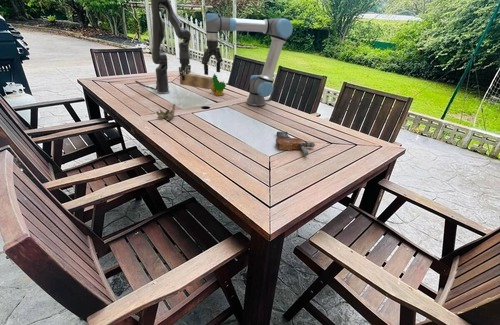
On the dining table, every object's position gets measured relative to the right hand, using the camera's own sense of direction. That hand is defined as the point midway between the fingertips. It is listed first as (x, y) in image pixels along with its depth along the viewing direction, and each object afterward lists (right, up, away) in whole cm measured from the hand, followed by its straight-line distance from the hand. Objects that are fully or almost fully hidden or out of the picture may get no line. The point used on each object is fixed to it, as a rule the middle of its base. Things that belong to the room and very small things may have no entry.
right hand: (212, 73), depth 183 cm
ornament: (-1, -1, +54) cm, 54 cm away
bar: (-17, -1, +26) cm, 31 cm away
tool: (+54, -53, -33) cm, 83 cm away
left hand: (-26, +4, +27) cm, 37 cm away
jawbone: (-28, -33, -7) cm, 44 cm away
